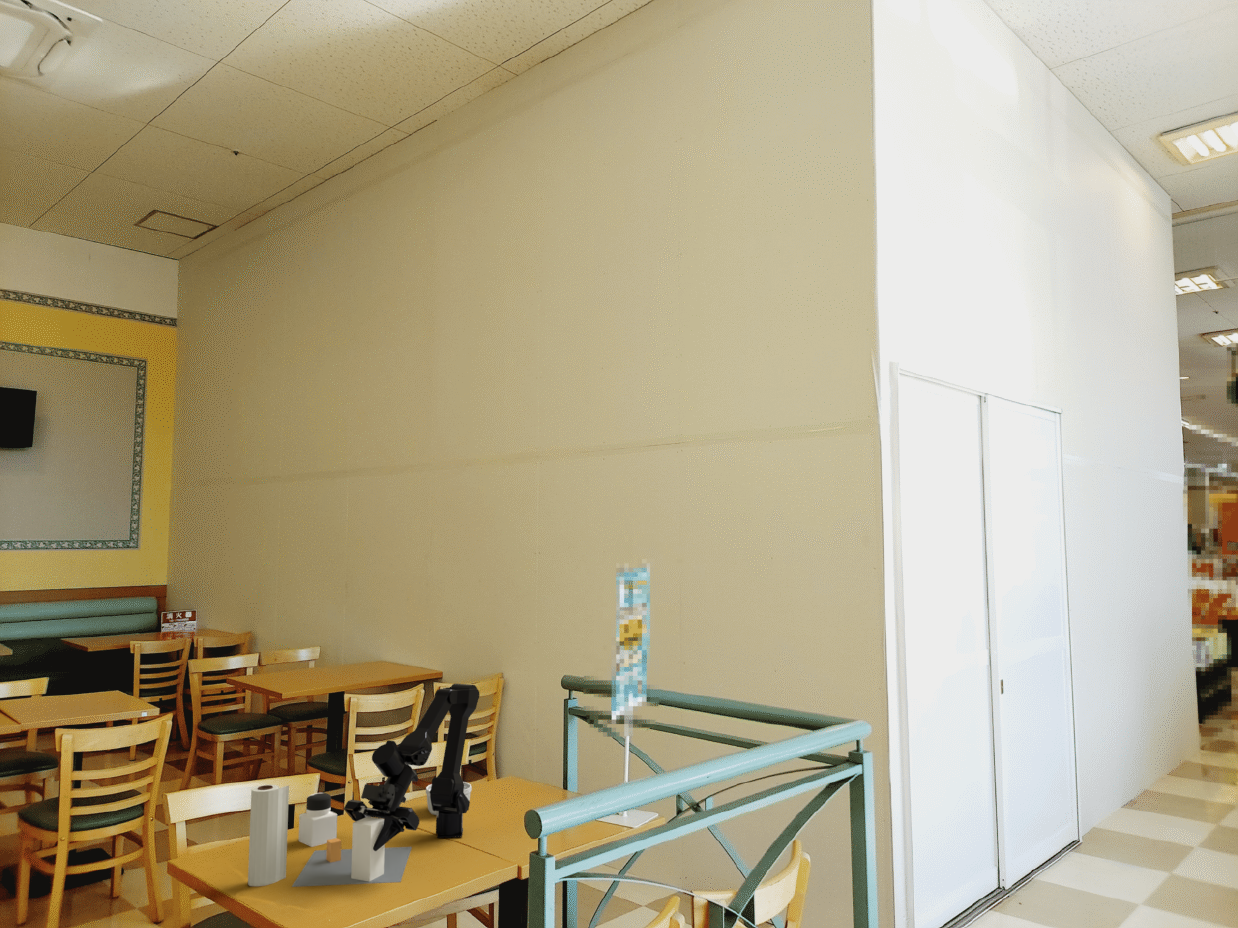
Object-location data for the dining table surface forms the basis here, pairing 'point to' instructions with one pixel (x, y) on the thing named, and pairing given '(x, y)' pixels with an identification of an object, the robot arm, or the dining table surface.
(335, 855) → the orange block
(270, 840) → the paper towel roll
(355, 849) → the tall white pillar
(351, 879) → the mat
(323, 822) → the medicine bottle
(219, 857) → the dining table surface
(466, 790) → the ramekin
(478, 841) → the dining table surface
